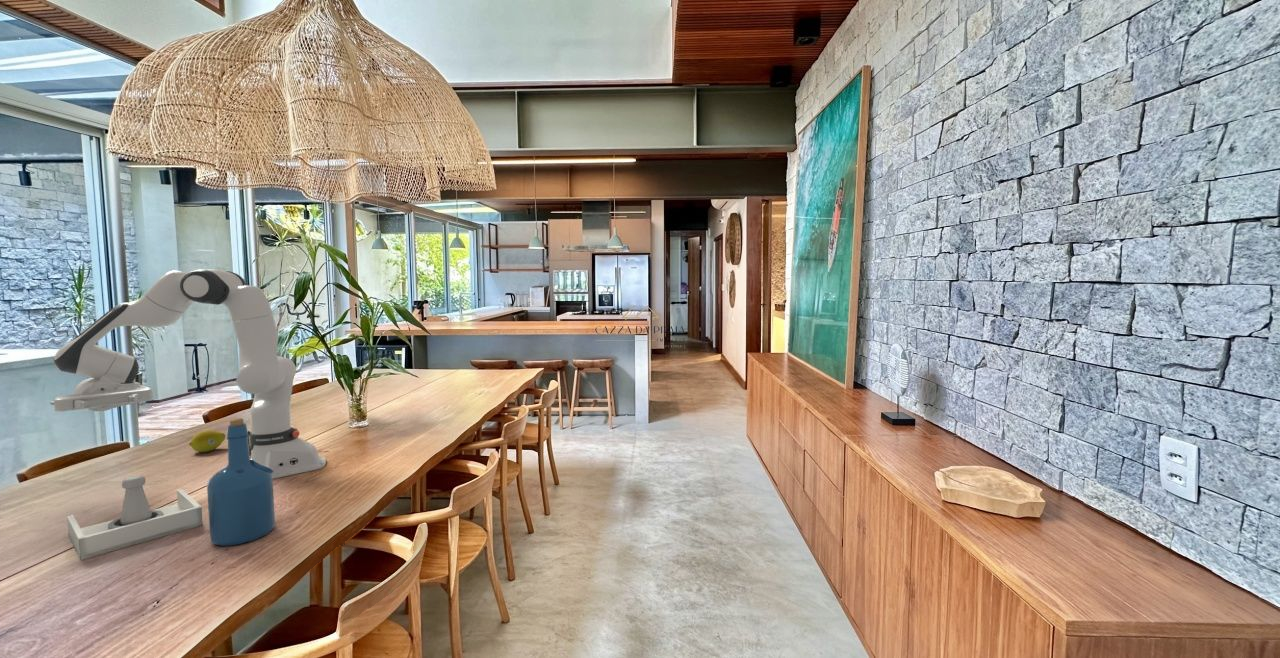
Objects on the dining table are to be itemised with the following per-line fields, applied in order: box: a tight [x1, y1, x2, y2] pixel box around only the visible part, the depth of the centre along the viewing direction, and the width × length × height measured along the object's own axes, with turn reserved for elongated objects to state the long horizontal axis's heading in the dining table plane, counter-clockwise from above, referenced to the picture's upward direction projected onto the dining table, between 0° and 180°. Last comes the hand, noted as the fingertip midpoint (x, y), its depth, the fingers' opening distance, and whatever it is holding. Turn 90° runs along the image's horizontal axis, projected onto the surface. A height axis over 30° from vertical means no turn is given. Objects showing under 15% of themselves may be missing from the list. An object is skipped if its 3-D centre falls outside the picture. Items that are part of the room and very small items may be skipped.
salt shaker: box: [120, 475, 152, 526], centre depth 132 cm, size 6×6×13 cm
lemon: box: [188, 429, 226, 453], centre depth 196 cm, size 11×8×8 cm
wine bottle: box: [206, 417, 276, 547], centre depth 129 cm, size 14×13×30 cm
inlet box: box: [66, 488, 204, 561], centre depth 132 cm, size 20×22×5 cm
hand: (109, 402), depth 147 cm, fingers open, 8 cm apart
